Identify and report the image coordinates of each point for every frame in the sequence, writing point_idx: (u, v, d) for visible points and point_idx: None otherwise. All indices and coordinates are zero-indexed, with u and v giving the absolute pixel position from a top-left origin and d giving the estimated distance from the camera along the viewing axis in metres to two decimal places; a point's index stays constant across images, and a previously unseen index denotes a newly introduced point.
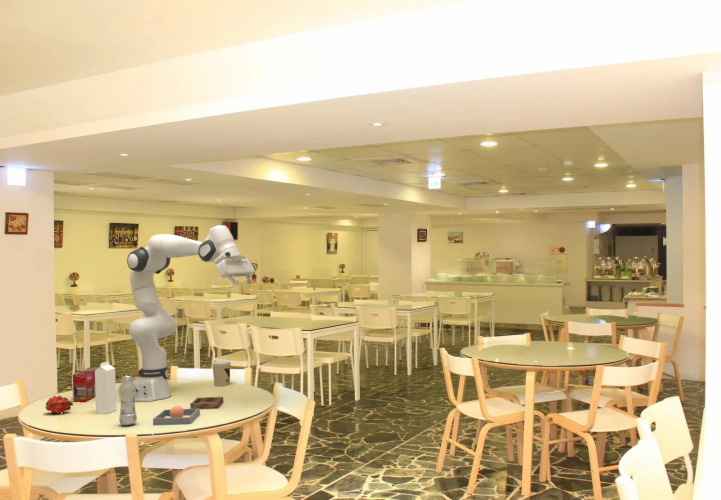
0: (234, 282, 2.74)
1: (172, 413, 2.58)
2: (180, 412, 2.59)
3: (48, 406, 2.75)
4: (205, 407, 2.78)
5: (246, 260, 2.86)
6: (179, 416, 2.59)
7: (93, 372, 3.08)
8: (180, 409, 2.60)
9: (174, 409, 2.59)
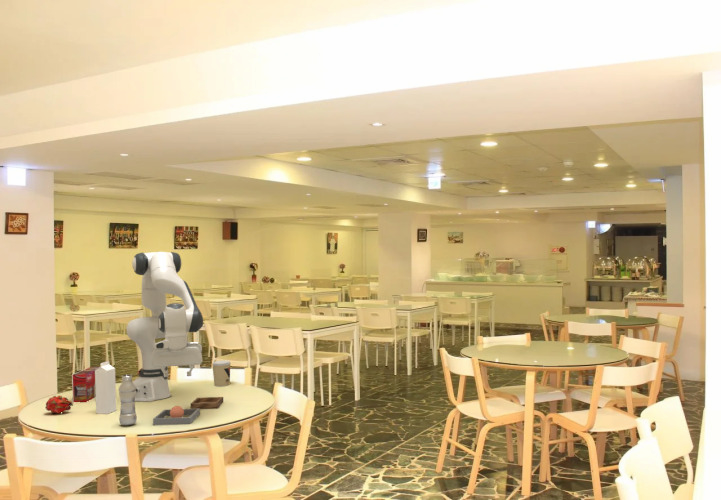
0: None
1: (172, 413, 2.58)
2: (180, 412, 2.59)
3: (48, 406, 2.75)
4: (205, 407, 2.78)
5: (192, 350, 2.59)
6: (179, 416, 2.59)
7: (93, 372, 3.08)
8: (180, 409, 2.60)
9: (174, 409, 2.59)
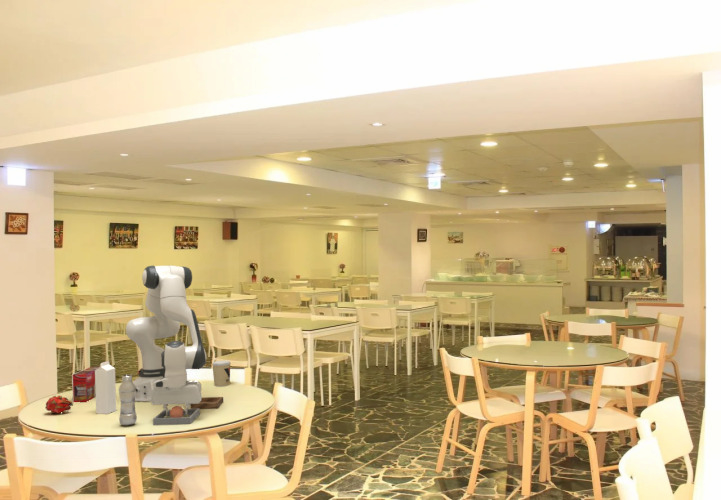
0: None
1: (172, 413, 2.58)
2: (180, 412, 2.59)
3: (48, 406, 2.75)
4: (205, 407, 2.78)
5: (191, 388, 2.59)
6: (179, 416, 2.59)
7: (93, 372, 3.08)
8: (180, 409, 2.60)
9: (174, 409, 2.59)
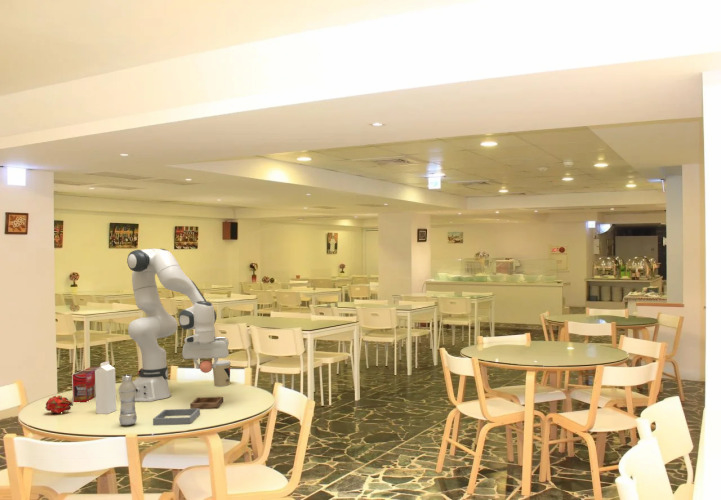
0: None
1: (202, 366, 2.81)
2: (209, 365, 2.82)
3: (48, 406, 2.75)
4: (205, 407, 2.78)
5: (220, 344, 2.82)
6: (208, 369, 2.82)
7: (93, 372, 3.08)
8: (209, 363, 2.83)
9: (204, 363, 2.82)
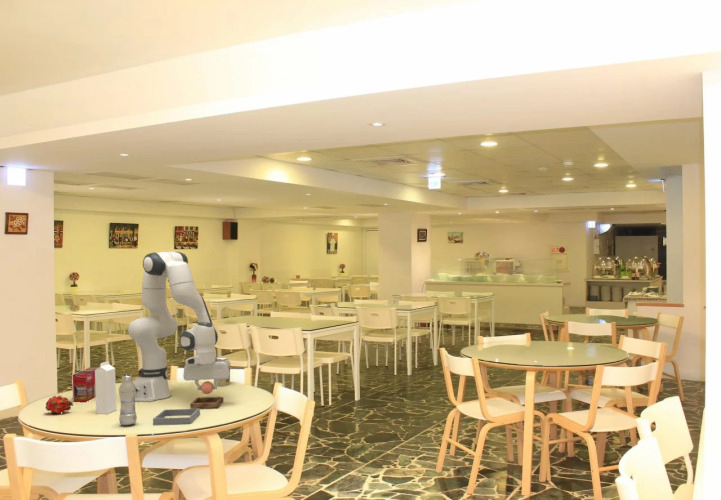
0: None
1: (203, 388, 2.81)
2: (210, 387, 2.82)
3: (48, 406, 2.75)
4: (205, 407, 2.78)
5: (220, 365, 2.82)
6: (209, 390, 2.82)
7: (93, 372, 3.08)
8: (210, 384, 2.83)
9: (205, 384, 2.82)
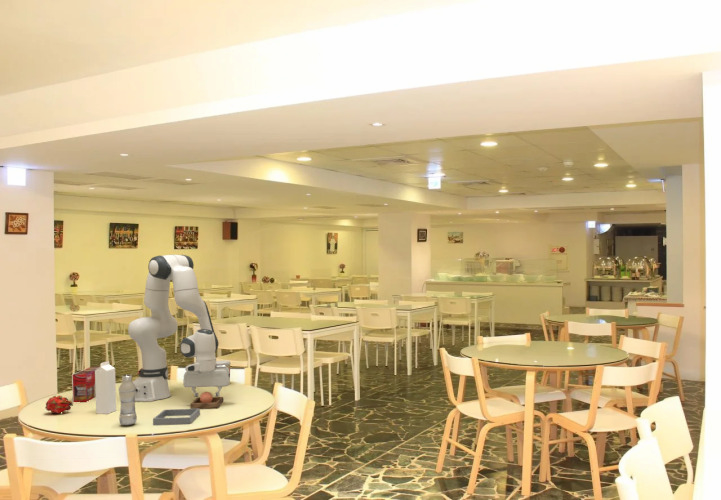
0: None
1: (202, 398, 2.81)
2: (209, 397, 2.82)
3: (48, 406, 2.75)
4: (205, 407, 2.78)
5: (220, 372, 2.82)
6: (209, 400, 2.82)
7: (93, 372, 3.08)
8: (209, 394, 2.83)
9: (203, 395, 2.82)
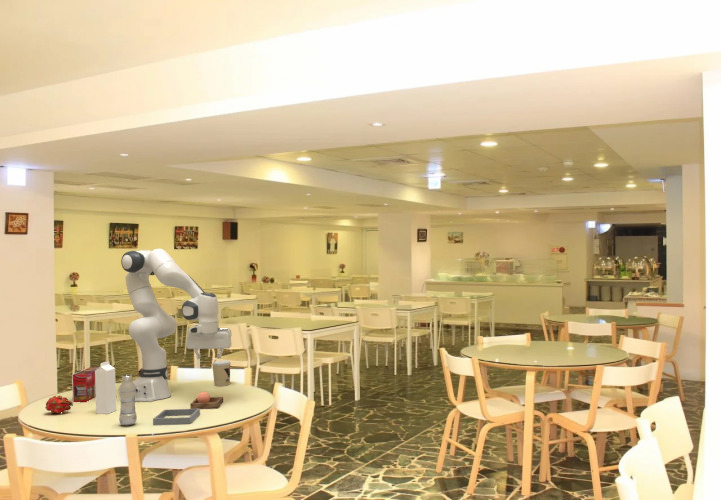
0: None
1: (199, 400, 2.81)
2: (205, 395, 2.82)
3: (48, 406, 2.75)
4: (205, 407, 2.78)
5: (222, 335, 2.87)
6: (206, 399, 2.82)
7: (93, 372, 3.08)
8: (204, 393, 2.83)
9: (199, 396, 2.82)
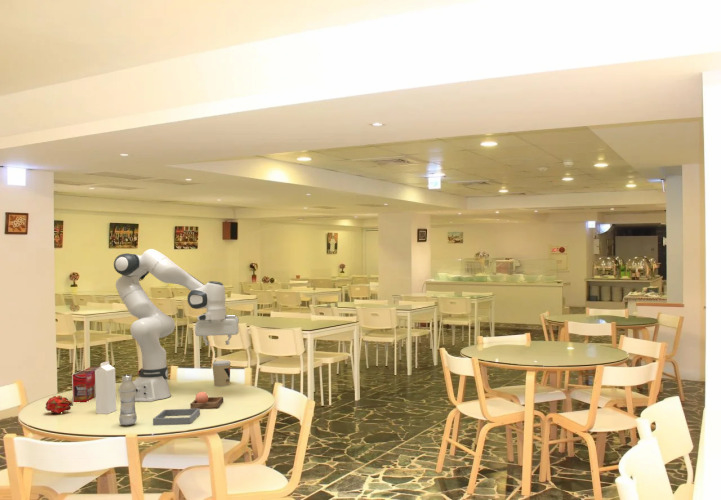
0: None
1: (198, 400, 2.81)
2: (202, 395, 2.82)
3: (48, 406, 2.75)
4: (205, 407, 2.78)
5: (230, 321, 2.97)
6: (204, 398, 2.82)
7: (93, 372, 3.08)
8: (201, 393, 2.83)
9: (197, 397, 2.82)
